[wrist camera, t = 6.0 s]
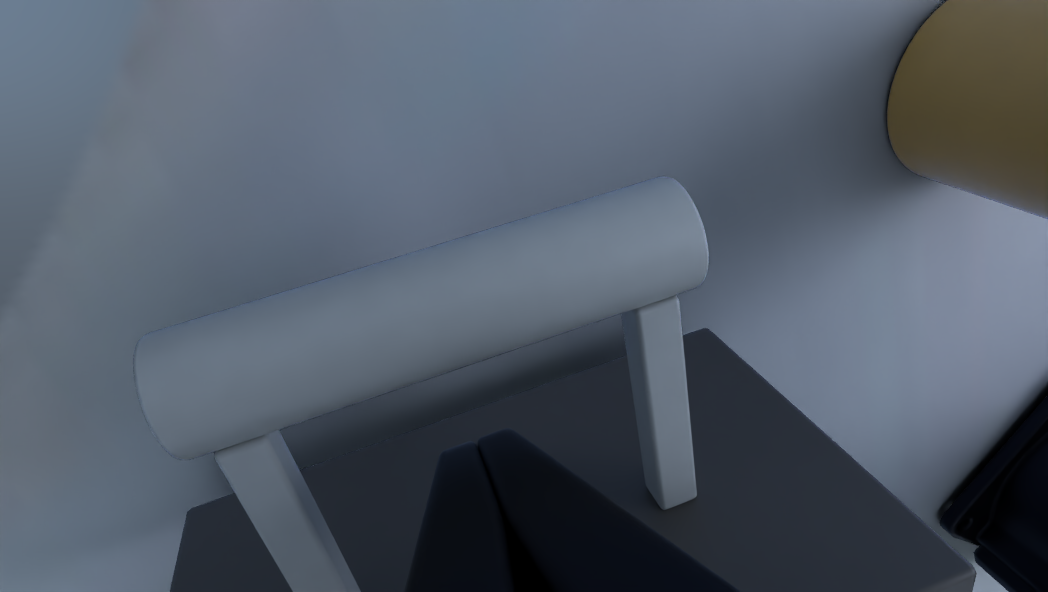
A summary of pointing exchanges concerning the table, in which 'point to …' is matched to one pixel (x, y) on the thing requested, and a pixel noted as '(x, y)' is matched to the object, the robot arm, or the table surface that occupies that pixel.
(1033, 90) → the coffee pod
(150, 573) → the table surface
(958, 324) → the table surface
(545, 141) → the table surface
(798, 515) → the drawer
